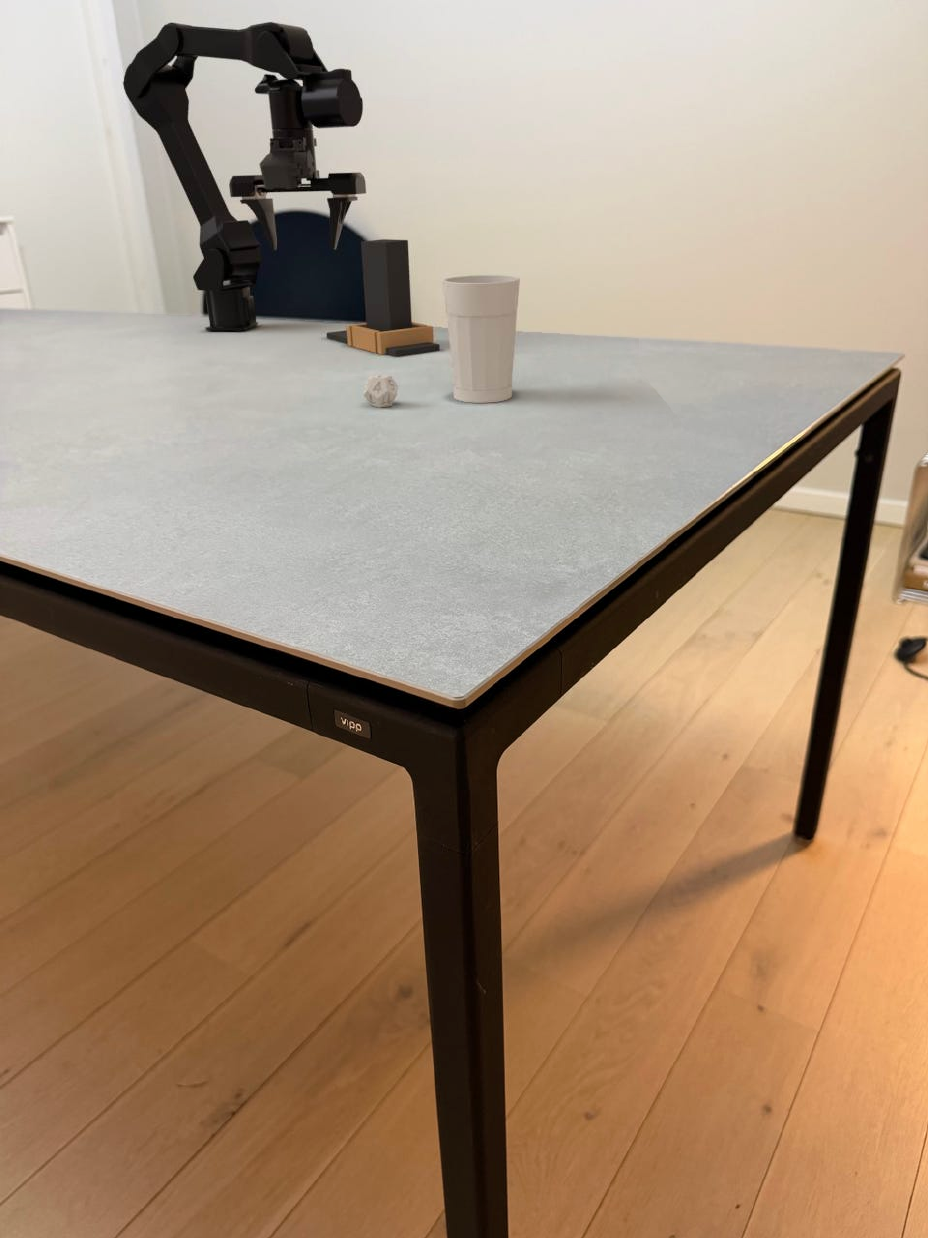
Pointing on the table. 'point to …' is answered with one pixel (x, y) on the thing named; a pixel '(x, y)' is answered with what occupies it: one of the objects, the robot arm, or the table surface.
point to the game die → (381, 390)
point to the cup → (482, 335)
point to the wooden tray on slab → (388, 339)
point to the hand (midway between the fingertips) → (303, 249)
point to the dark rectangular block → (386, 284)
